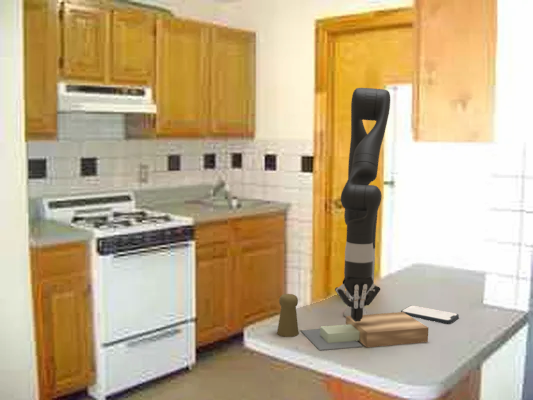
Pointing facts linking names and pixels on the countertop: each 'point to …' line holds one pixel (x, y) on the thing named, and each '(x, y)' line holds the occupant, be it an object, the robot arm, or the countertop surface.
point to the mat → (324, 345)
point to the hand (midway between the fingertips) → (356, 320)
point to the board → (389, 329)
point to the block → (339, 333)
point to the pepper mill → (288, 316)
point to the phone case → (431, 314)
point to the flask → (348, 310)
